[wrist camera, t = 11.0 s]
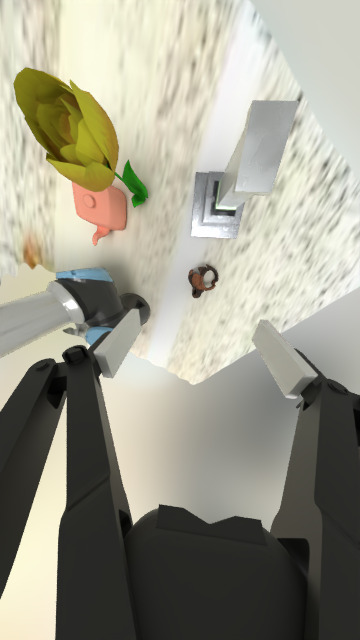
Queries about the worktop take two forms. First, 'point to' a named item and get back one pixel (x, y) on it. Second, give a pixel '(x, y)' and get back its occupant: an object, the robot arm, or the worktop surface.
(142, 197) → the flower
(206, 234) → the stand base
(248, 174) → the column
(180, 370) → the worktop surface
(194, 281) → the pottery mug
